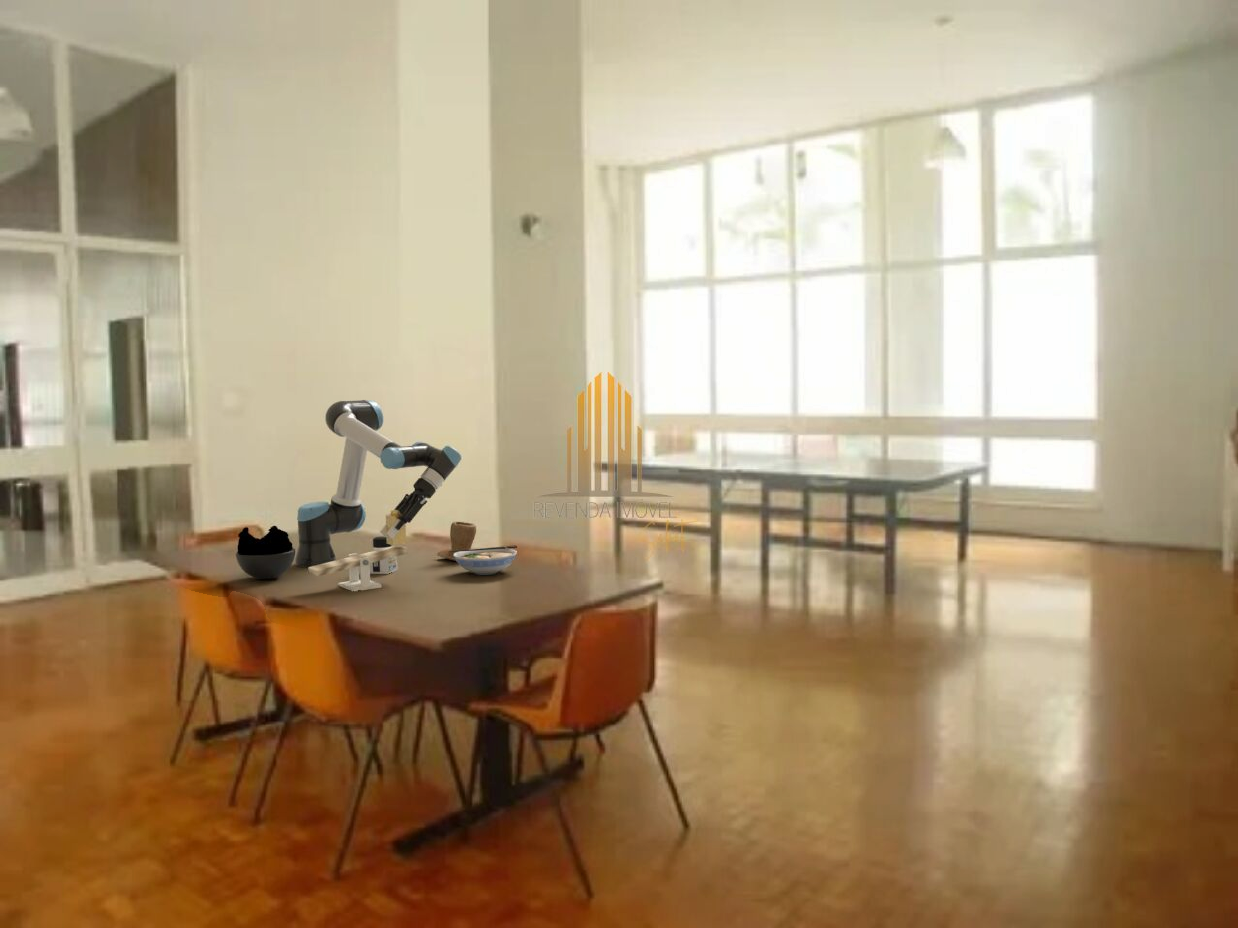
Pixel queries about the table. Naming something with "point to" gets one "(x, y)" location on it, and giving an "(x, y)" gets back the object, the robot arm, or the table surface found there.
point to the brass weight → (401, 535)
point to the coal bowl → (265, 553)
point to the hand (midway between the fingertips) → (386, 535)
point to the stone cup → (459, 538)
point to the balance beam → (357, 560)
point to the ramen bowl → (485, 559)
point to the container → (386, 564)
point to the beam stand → (364, 581)
